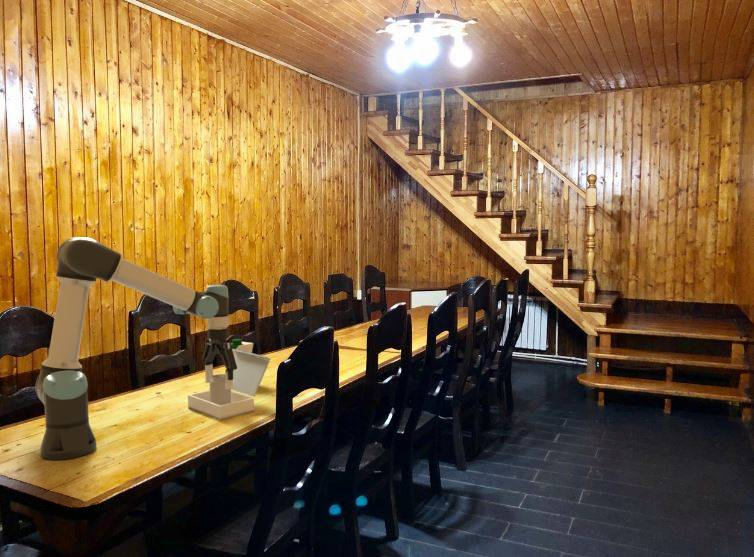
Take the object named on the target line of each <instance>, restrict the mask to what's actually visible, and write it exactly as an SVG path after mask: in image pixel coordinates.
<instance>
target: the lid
mask: <svg viewBox="0 0 754 557" xmlns="http://www.w3.org/2000/svg"><path fill="white" fill-rule="evenodd" d="M233 351H235V355H234V358H235V361H236V365H237V369H235V370H234V371H233V388H232V389H231V391H233V392H236V393H239V394H243V395H246V396H247V395H248V396H249V397H252V398H254V397H256V394H257V392H258V390H259V387H260V385H261V383H262V380H263V377H264V376H265V372H266V371H267V369H268V366H269V364H270V361H271V358H270V357H268V356H266V355H261V354H256V353H253V352H252V353H249V352H244V351H240V350H236V349H233ZM236 352H237V353H236ZM240 353H241V354H240ZM244 354H245V355H244ZM248 355H249V356H248Z"/></svg>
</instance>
